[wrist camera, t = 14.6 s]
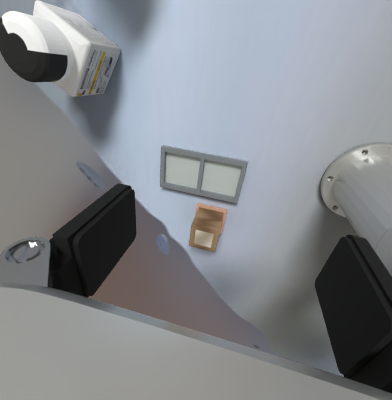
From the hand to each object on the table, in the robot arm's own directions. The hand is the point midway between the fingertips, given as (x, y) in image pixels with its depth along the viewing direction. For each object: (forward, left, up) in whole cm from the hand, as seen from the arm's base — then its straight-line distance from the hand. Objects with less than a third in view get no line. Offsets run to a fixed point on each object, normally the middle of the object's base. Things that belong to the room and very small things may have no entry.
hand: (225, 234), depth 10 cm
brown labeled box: (+3, +20, -28) cm, 34 cm away
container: (+26, -6, -28) cm, 39 cm away
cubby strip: (+6, +10, -28) cm, 31 cm away
